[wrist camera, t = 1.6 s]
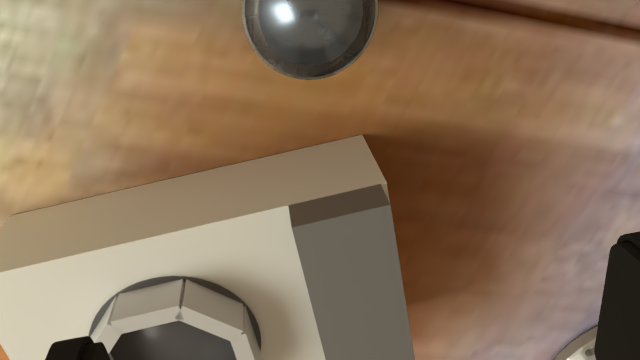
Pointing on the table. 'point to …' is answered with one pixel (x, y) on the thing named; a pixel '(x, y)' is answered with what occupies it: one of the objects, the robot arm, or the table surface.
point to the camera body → (216, 265)
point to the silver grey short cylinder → (309, 34)
